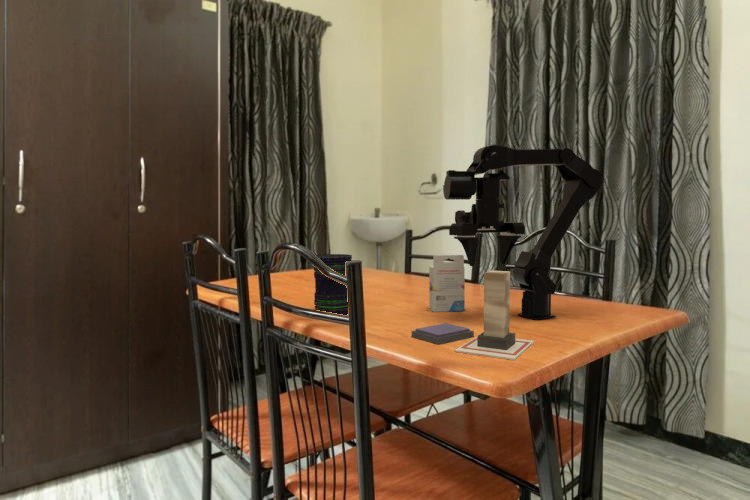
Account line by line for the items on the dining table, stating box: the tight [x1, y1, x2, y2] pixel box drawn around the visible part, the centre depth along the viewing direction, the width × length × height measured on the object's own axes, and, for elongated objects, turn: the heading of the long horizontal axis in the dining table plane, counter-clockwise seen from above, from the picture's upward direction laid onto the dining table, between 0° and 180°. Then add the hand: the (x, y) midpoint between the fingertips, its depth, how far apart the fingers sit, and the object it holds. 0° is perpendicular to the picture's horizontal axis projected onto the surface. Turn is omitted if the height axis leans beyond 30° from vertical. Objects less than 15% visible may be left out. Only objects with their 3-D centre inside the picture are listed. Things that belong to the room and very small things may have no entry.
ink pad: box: [411, 322, 475, 346], centre depth 104 cm, size 10×8×2 cm
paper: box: [454, 335, 535, 361], centre depth 96 cm, size 14×11×1 cm
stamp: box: [477, 270, 516, 350], centre depth 96 cm, size 6×6×14 cm
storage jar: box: [313, 253, 353, 315], centre depth 129 cm, size 10×10×15 cm
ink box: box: [428, 254, 466, 313], centre depth 133 cm, size 8×5×15 cm, turn 96°
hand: (487, 265), depth 121 cm, fingers open, 9 cm apart
